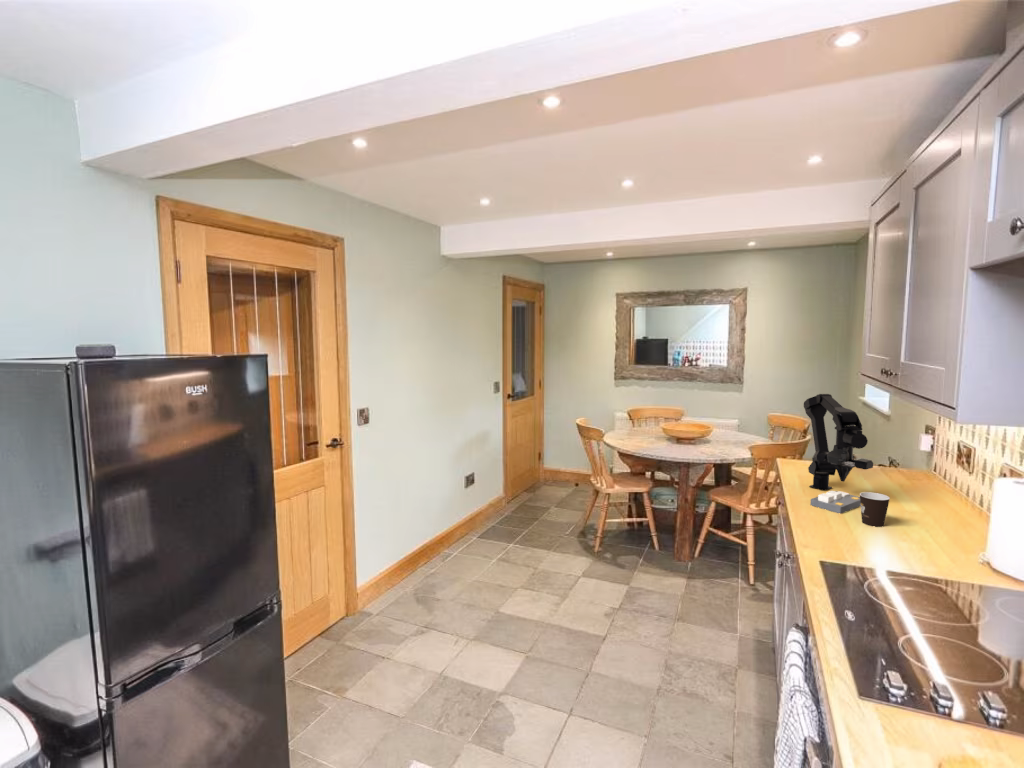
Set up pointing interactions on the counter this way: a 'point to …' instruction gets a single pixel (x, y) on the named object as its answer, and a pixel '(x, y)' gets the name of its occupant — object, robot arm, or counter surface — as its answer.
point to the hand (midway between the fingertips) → (842, 481)
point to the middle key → (835, 495)
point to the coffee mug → (873, 508)
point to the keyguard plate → (838, 504)
